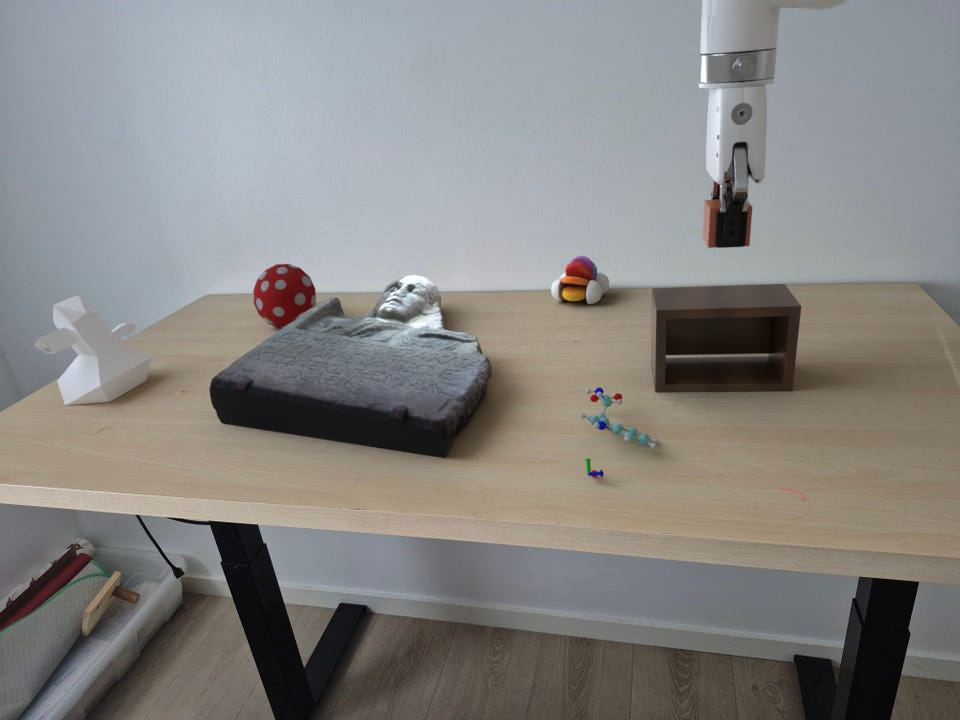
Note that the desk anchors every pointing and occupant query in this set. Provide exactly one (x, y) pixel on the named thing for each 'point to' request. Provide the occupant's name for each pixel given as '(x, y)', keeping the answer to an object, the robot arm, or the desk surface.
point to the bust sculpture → (362, 375)
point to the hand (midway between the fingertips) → (726, 238)
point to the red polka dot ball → (283, 294)
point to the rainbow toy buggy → (580, 282)
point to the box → (710, 222)
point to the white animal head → (93, 355)
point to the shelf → (724, 338)
